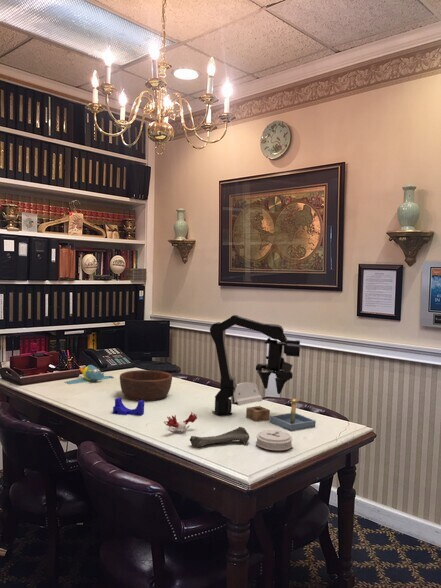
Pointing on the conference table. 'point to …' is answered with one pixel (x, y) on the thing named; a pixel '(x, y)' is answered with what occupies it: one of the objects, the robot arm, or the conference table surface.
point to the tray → (284, 422)
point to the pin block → (257, 413)
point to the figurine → (179, 423)
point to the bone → (221, 438)
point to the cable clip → (122, 410)
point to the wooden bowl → (145, 384)
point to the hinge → (246, 393)
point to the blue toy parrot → (89, 375)
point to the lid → (274, 440)
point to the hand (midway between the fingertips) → (272, 391)
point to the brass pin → (293, 409)
